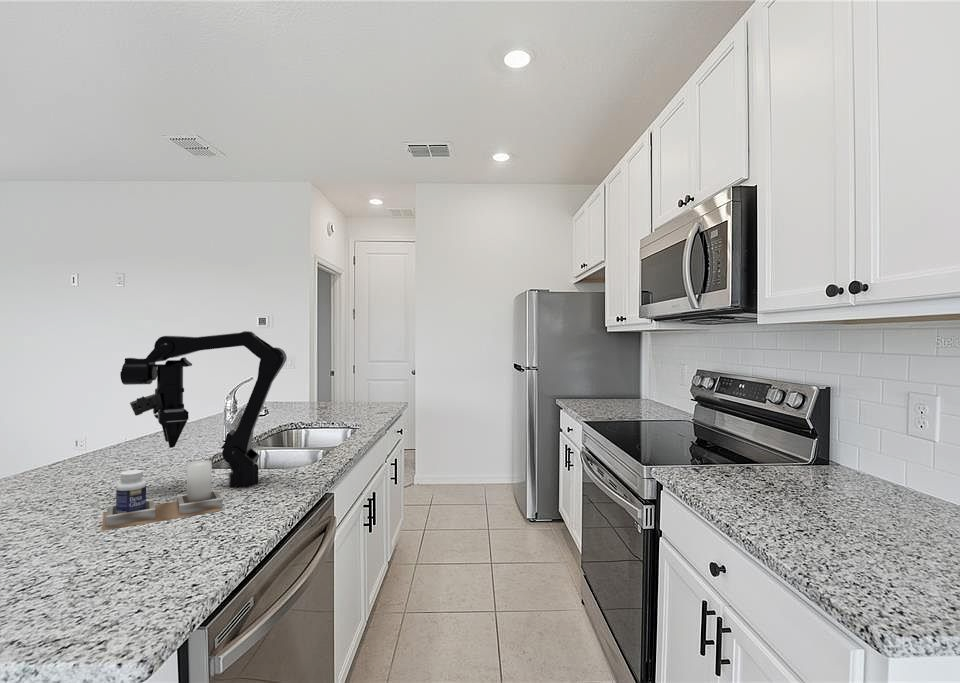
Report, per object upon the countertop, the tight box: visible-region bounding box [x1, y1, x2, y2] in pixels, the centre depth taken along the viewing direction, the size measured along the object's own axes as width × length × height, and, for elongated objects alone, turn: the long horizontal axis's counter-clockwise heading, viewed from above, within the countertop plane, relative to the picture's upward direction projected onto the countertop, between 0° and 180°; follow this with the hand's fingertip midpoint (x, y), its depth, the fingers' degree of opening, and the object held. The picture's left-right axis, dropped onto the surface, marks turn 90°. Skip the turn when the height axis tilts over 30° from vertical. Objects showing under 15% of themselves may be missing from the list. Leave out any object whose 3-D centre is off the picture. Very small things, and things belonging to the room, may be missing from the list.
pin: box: [186, 459, 213, 503], centre depth 117 cm, size 5×5×10 cm
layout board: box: [100, 489, 223, 532], centre depth 113 cm, size 22×13×4 cm, turn 125°
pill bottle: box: [115, 469, 147, 514], centre depth 109 cm, size 5×5×10 cm
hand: (169, 444), depth 129 cm, fingers open, 9 cm apart
